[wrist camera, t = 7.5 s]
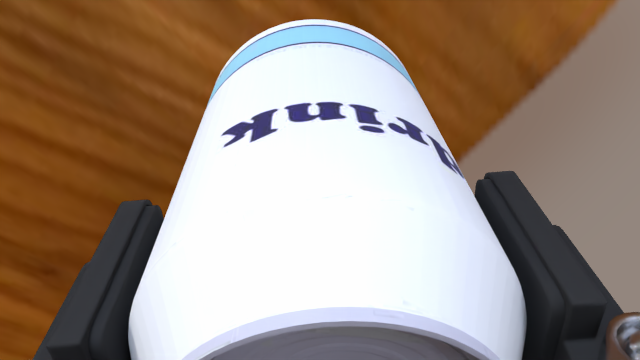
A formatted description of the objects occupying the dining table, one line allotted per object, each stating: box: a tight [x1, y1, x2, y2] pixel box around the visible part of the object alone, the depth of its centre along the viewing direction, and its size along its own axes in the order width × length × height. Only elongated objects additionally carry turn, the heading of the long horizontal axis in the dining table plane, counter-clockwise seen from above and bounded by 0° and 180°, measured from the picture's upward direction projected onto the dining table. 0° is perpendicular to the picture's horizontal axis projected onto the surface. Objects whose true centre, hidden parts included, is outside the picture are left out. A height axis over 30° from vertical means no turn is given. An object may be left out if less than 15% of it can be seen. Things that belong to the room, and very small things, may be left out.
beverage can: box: [128, 19, 527, 360], centre depth 12 cm, size 7×7×12 cm
